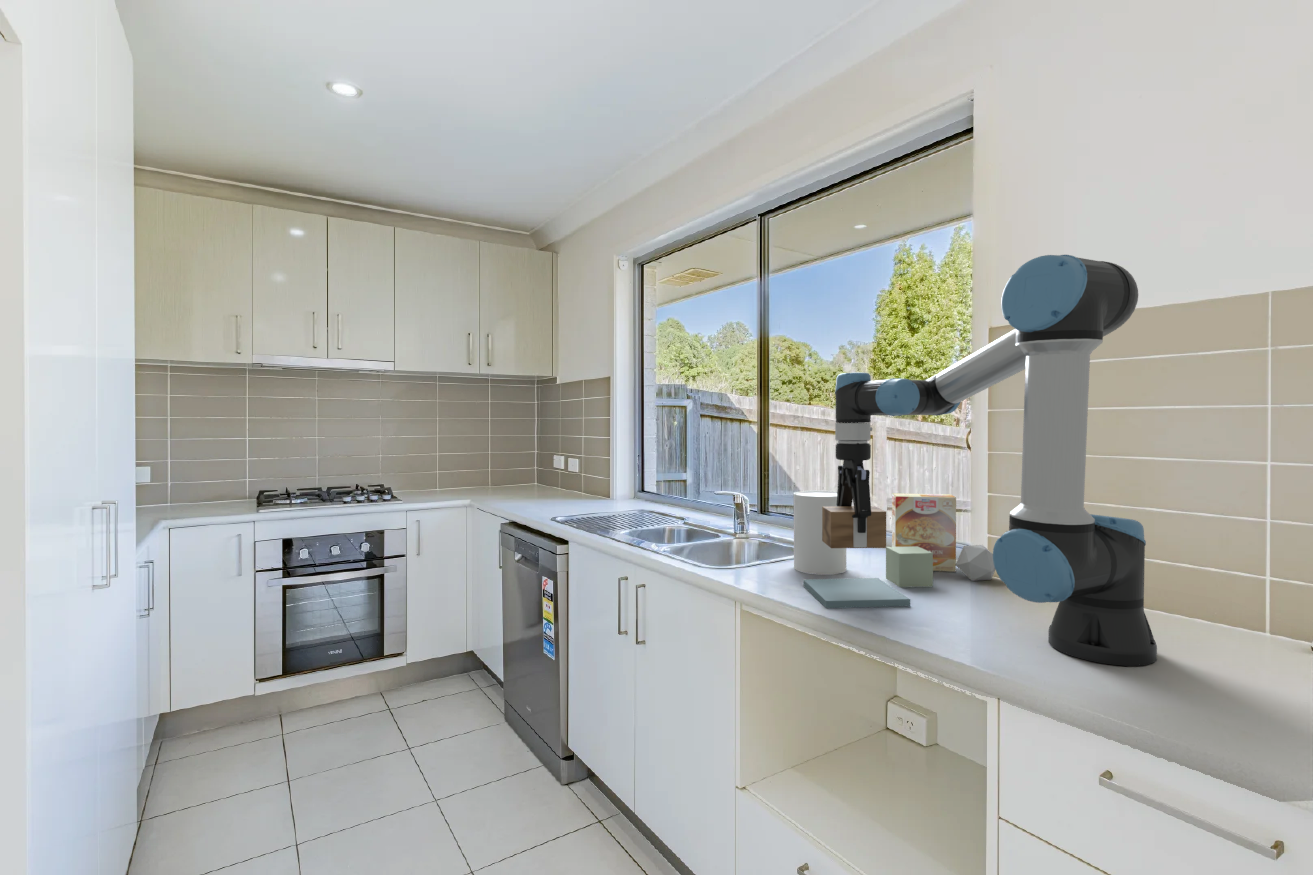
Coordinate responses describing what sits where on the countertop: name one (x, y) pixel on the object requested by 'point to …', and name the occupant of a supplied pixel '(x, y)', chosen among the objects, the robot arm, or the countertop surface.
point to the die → (976, 562)
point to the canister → (814, 535)
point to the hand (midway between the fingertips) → (853, 542)
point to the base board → (855, 593)
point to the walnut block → (841, 527)
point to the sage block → (909, 566)
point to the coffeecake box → (926, 526)
